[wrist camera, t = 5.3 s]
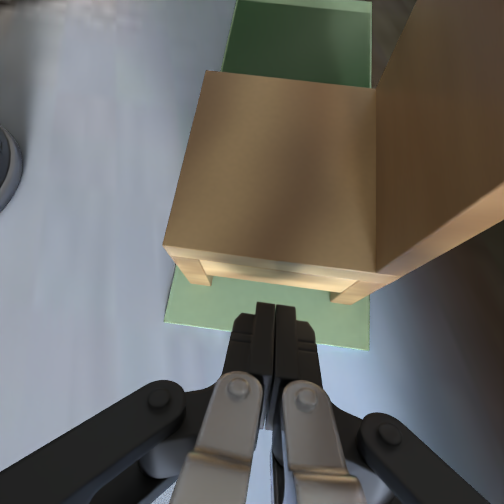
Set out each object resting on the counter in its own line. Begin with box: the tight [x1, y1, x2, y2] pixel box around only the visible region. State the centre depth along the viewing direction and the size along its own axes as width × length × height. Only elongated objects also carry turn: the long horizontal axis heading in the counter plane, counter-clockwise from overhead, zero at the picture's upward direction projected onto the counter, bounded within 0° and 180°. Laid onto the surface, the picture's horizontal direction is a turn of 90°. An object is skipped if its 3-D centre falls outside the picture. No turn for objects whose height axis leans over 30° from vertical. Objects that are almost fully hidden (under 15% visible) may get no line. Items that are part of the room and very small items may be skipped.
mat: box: [164, 0, 372, 351], centre depth 21 cm, size 11×28×1 cm, turn 172°
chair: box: [163, 0, 504, 305], centre depth 13 cm, size 9×9×13 cm
